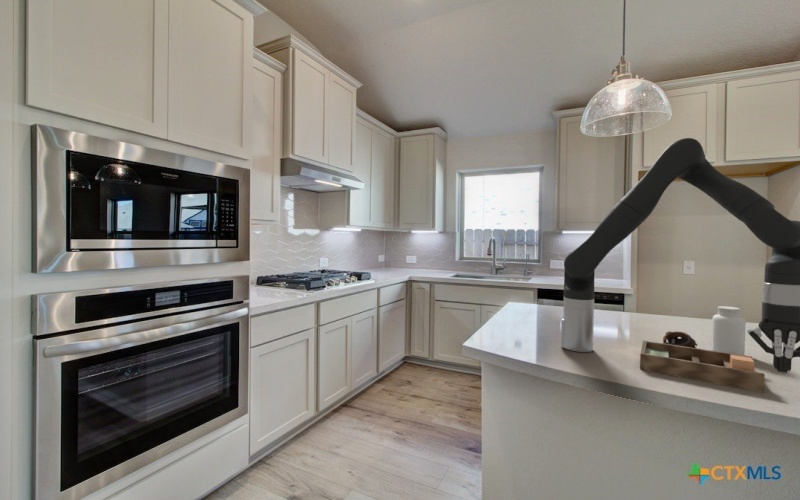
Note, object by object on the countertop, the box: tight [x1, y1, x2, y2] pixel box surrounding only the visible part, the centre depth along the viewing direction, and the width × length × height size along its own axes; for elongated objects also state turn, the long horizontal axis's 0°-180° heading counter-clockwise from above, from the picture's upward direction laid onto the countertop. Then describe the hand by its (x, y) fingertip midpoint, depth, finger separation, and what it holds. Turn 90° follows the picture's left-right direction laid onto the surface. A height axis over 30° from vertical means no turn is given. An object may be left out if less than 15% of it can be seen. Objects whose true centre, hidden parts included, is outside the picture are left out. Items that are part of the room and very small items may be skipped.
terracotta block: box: [730, 355, 755, 371], centre depth 91 cm, size 4×4×4 cm
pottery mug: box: [662, 331, 698, 348], centre depth 115 cm, size 12×10×8 cm
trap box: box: [639, 339, 766, 393], centre depth 100 cm, size 25×16×4 cm, turn 53°
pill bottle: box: [711, 305, 747, 355], centre depth 115 cm, size 8×8×15 cm
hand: (781, 371), depth 87 cm, fingers closed
